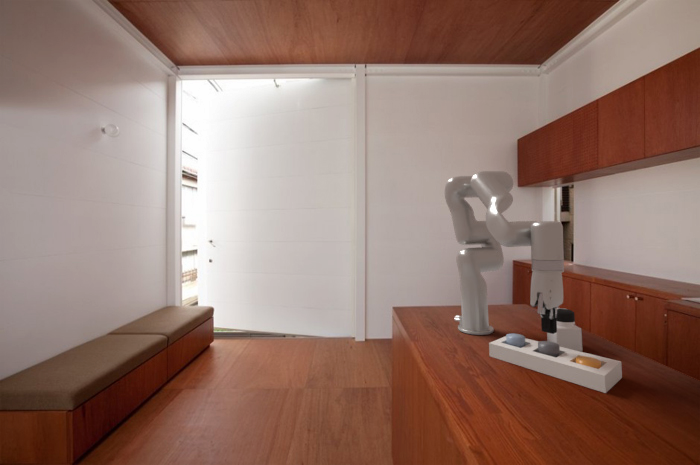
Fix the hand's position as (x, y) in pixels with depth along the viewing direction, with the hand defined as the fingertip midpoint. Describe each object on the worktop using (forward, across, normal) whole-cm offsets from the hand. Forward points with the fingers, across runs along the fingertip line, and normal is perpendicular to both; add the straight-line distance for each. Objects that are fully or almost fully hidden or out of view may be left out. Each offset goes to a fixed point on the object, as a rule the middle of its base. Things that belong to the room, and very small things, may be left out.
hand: (549, 331), depth 84 cm
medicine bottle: (+10, -18, -3) cm, 20 cm away
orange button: (+8, 0, +9) cm, 12 cm away
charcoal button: (+7, 0, 0) cm, 7 cm away
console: (+9, 0, 0) cm, 9 cm away
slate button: (+7, 0, -9) cm, 12 cm away
